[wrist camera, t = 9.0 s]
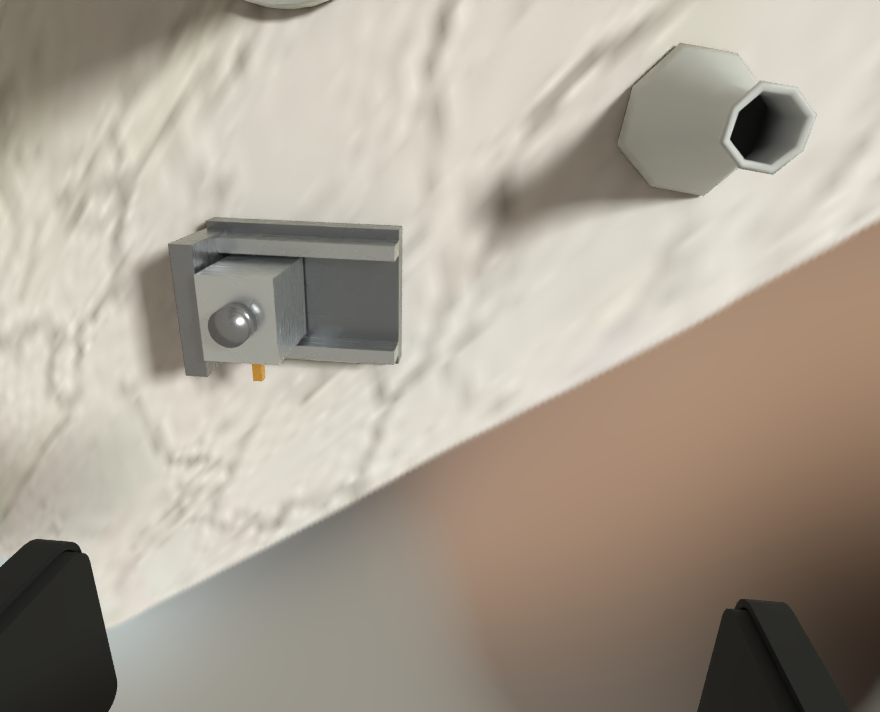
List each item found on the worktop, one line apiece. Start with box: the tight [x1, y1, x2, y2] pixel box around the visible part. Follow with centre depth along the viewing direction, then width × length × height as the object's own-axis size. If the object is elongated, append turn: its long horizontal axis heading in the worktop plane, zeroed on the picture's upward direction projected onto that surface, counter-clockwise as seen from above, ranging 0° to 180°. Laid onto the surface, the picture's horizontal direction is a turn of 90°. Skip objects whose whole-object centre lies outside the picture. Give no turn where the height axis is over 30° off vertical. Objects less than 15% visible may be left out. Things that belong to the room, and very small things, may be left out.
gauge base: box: [168, 217, 402, 377], centre depth 35 cm, size 11×8×6 cm
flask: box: [617, 43, 817, 196], centre depth 27 cm, size 7×7×10 cm
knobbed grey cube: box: [194, 253, 307, 381], centre depth 33 cm, size 4×6×6 cm, turn 178°
